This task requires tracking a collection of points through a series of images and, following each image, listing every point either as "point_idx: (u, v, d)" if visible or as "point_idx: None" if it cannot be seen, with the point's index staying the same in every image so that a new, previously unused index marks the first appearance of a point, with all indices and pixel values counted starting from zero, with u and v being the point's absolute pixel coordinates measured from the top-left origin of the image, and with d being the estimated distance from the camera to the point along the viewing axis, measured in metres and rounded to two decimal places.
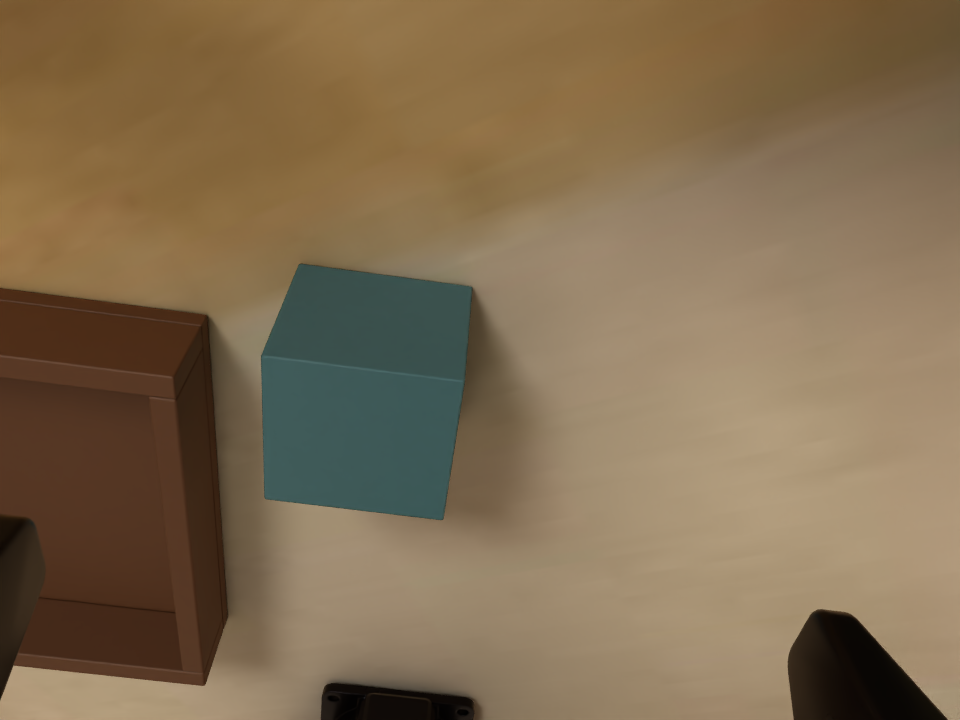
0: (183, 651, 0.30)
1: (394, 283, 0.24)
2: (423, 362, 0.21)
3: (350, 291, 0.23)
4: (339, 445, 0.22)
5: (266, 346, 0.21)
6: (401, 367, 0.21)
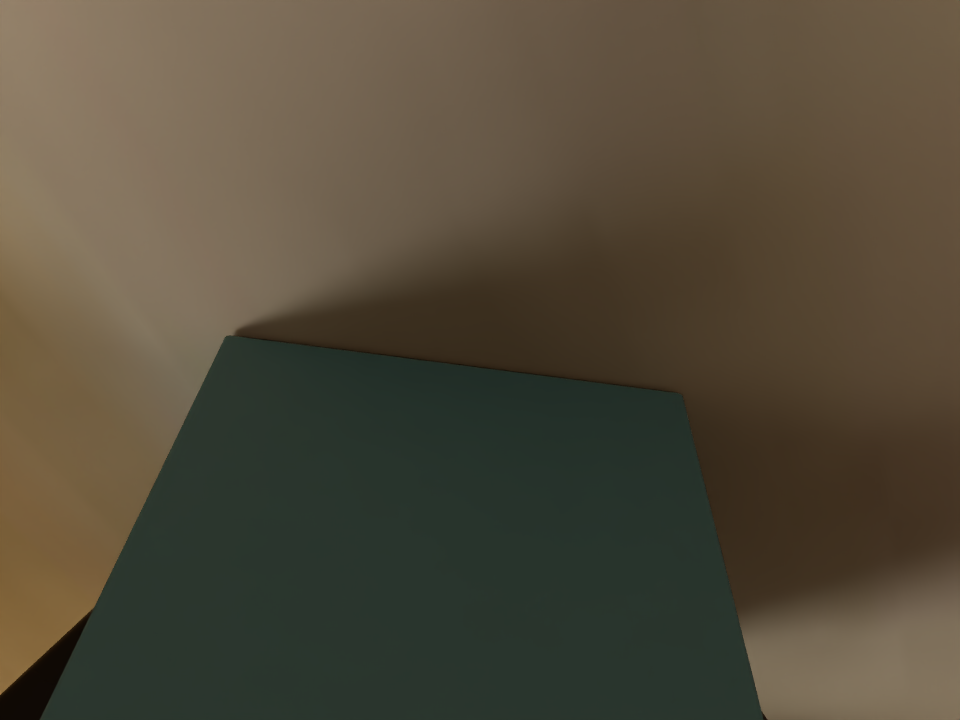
0: None
1: None
2: None
3: None
4: None
5: None
6: None
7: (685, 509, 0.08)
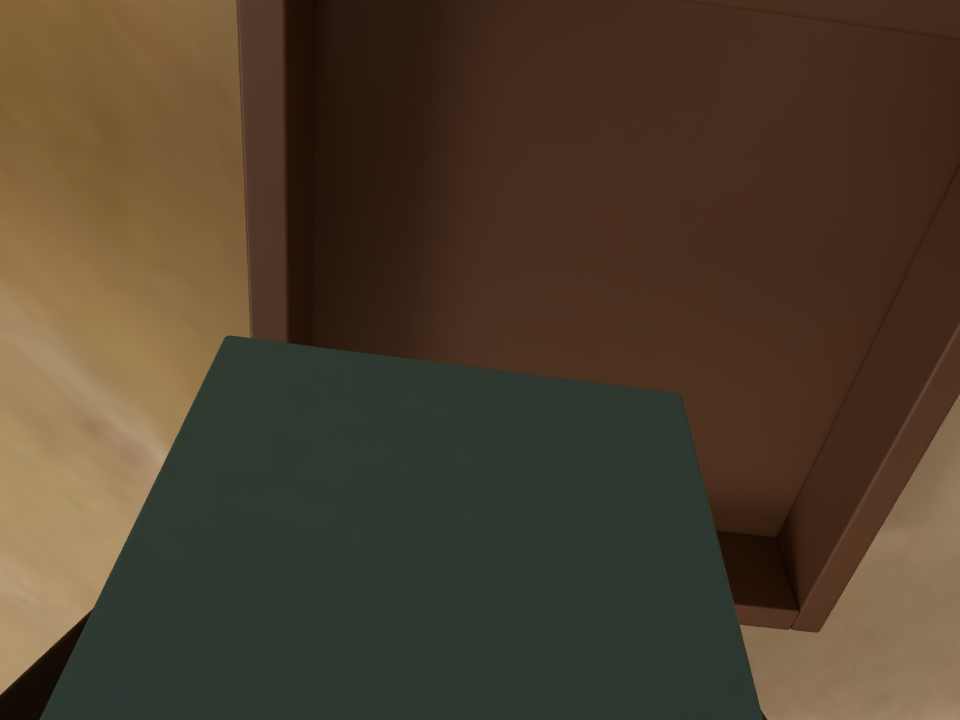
0: None
1: None
2: None
3: None
4: None
5: None
6: None
7: (685, 509, 0.08)
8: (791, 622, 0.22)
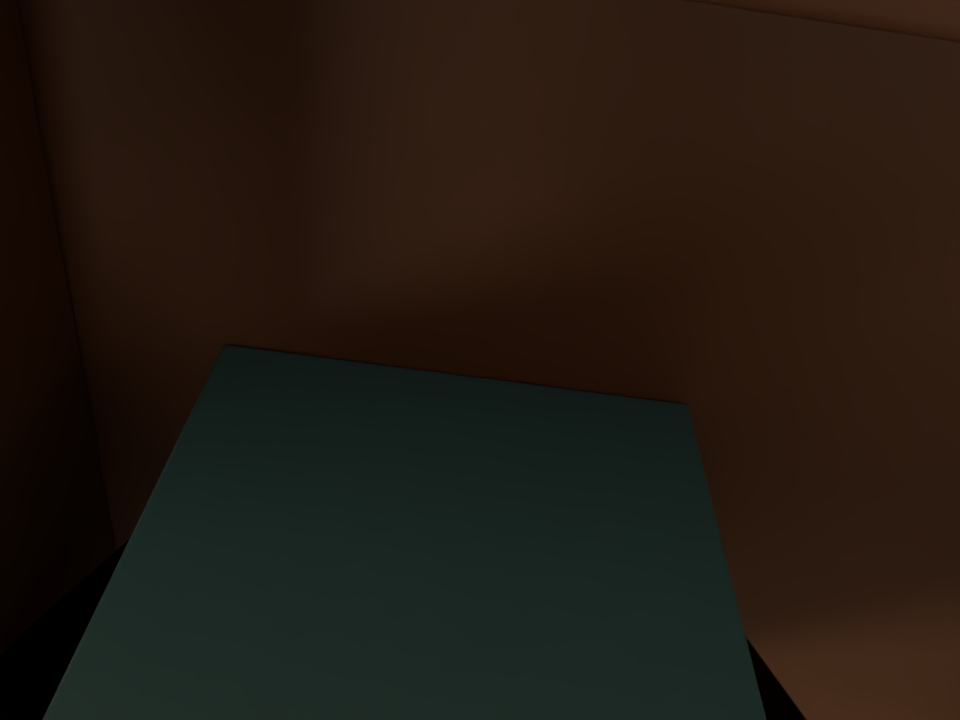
0: None
1: None
2: None
3: None
4: None
5: None
6: None
7: (691, 524, 0.08)
8: None
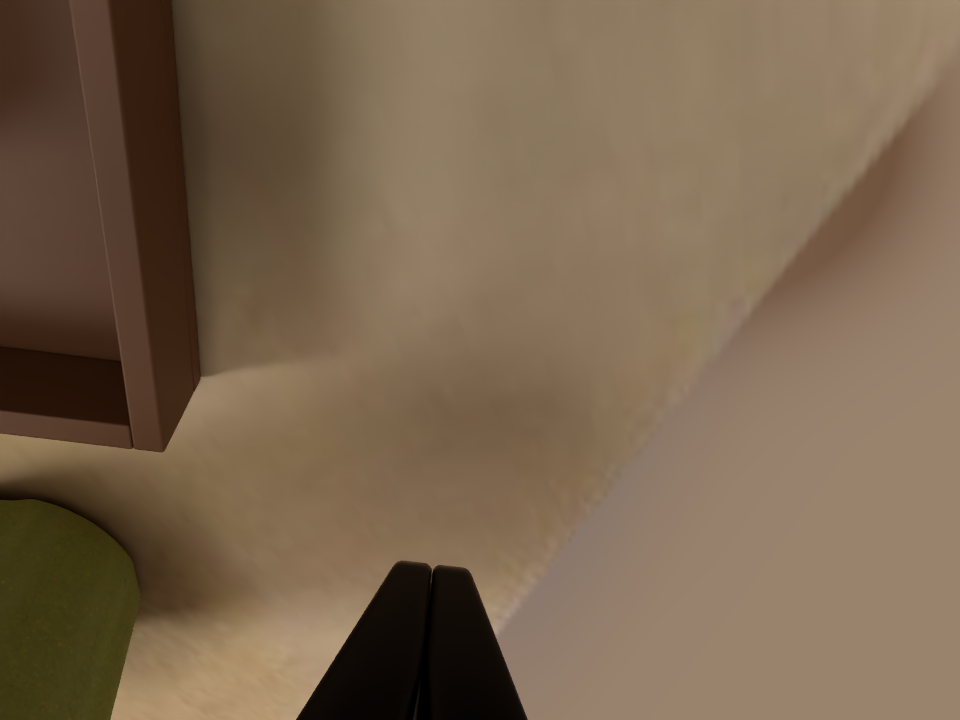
0: None
1: None
2: None
3: None
4: None
5: None
6: None
7: None
8: (133, 441, 0.22)
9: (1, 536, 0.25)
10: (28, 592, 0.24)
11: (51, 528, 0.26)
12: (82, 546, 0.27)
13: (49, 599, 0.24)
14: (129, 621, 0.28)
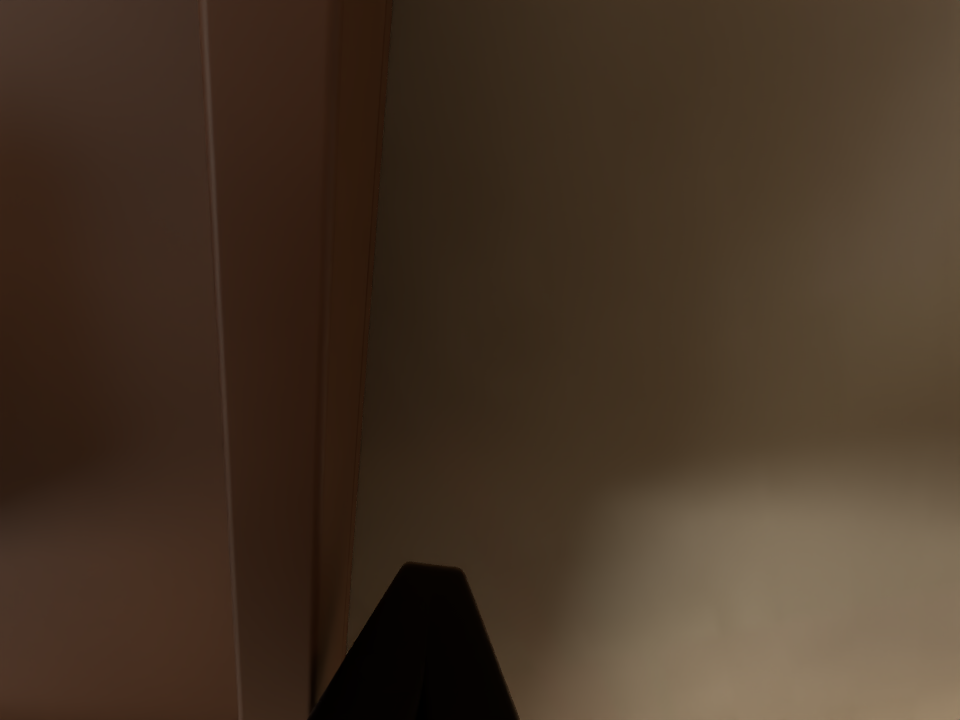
0: None
1: None
2: None
3: None
4: None
5: None
6: None
7: None
8: None
9: None
10: None
11: None
12: None
13: None
14: None
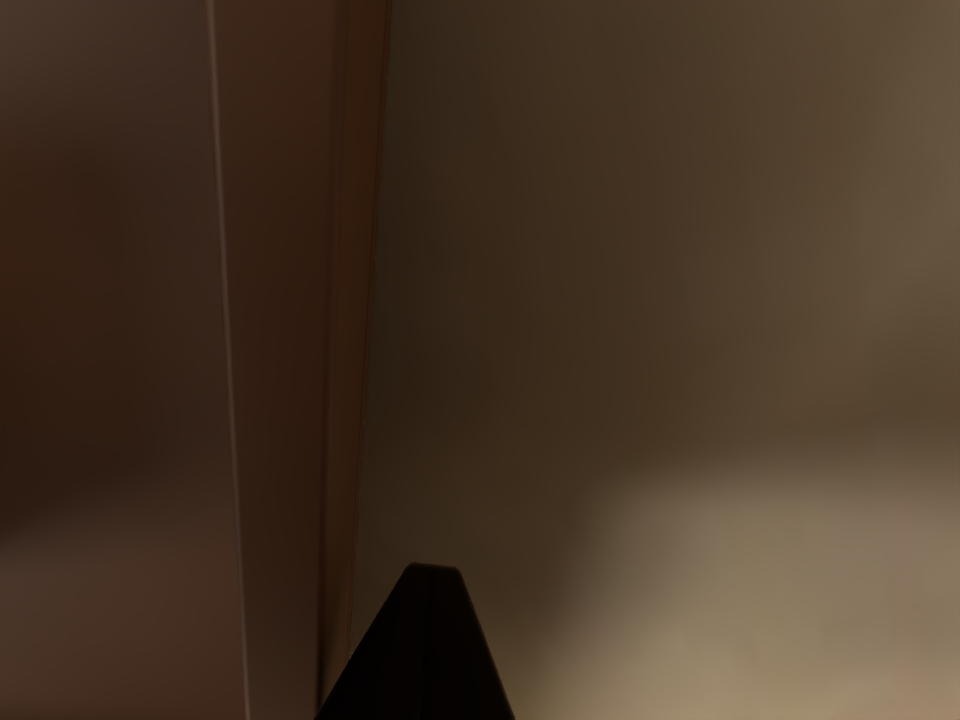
0: None
1: None
2: None
3: None
4: None
5: None
6: None
7: None
8: None
9: None
10: None
11: None
12: None
13: None
14: None
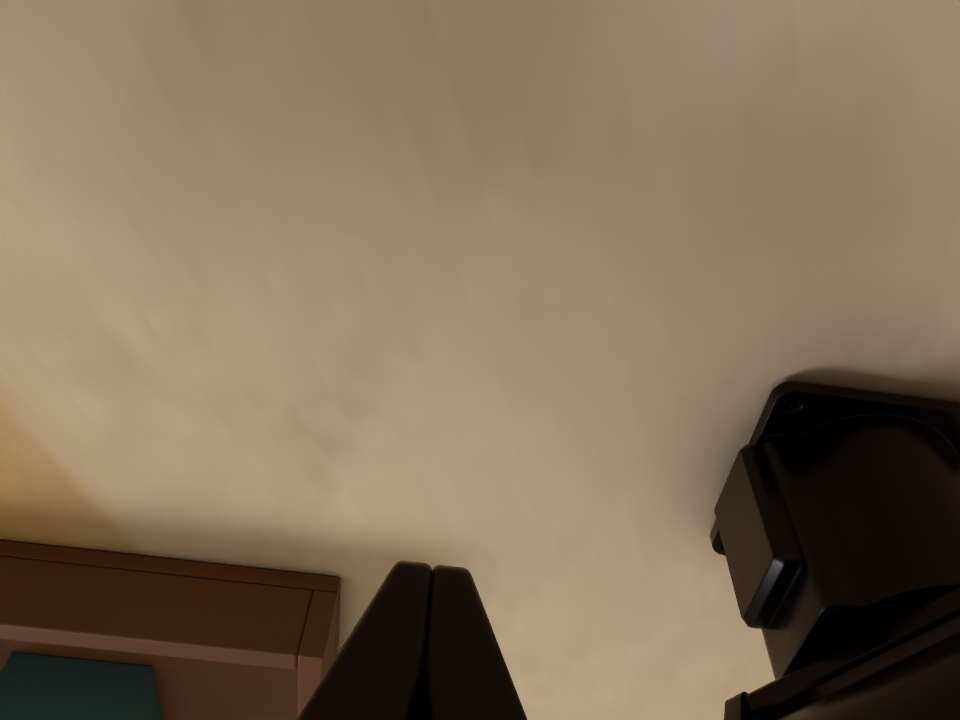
0: (254, 663, 0.26)
1: None
2: None
3: None
4: None
5: None
6: None
7: (126, 711, 0.29)
8: None
9: None
10: None
11: None
12: None
13: None
14: None
